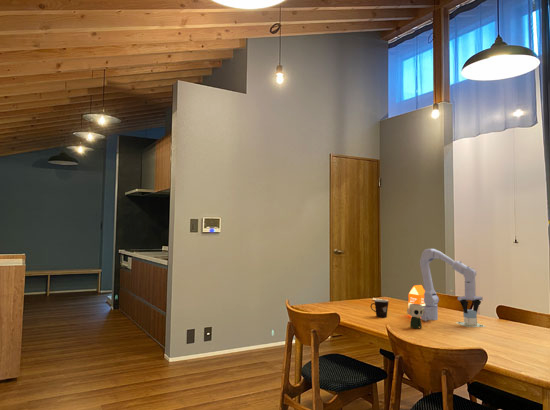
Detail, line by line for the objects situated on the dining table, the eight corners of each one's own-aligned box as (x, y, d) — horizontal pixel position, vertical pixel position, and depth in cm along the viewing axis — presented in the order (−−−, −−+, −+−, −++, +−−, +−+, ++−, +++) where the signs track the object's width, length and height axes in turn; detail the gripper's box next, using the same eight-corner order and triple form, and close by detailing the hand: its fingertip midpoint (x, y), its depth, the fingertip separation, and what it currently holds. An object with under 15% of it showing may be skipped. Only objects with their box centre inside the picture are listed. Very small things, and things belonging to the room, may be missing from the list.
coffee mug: (387, 315, 266) (387, 300, 267) (389, 318, 257) (389, 302, 258) (368, 315, 267) (369, 299, 268) (370, 317, 259) (370, 301, 259)
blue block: (468, 318, 237) (468, 311, 238) (463, 316, 242) (463, 309, 242) (476, 318, 238) (476, 311, 238) (471, 316, 243) (471, 309, 243)
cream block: (469, 325, 236) (468, 318, 237) (464, 323, 241) (463, 316, 242) (477, 325, 237) (477, 318, 237) (471, 323, 242) (471, 316, 242)
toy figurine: (411, 330, 227) (411, 306, 228) (403, 327, 234) (403, 303, 235) (428, 329, 230) (428, 305, 231) (420, 326, 237) (420, 303, 238)
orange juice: (408, 316, 266) (408, 284, 267) (416, 314, 271) (416, 284, 273) (419, 318, 260) (418, 286, 261) (427, 316, 265) (426, 285, 267)
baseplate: (467, 328, 233) (466, 325, 233) (455, 324, 244) (455, 321, 244) (486, 328, 234) (486, 325, 234) (473, 323, 246) (473, 321, 246)
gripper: (462, 290, 236) (462, 314, 235) (485, 290, 238) (486, 314, 237) (455, 288, 243) (455, 311, 242) (478, 288, 245) (478, 311, 244)
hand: (470, 312), depth 240 cm, fingers open, 5 cm apart
